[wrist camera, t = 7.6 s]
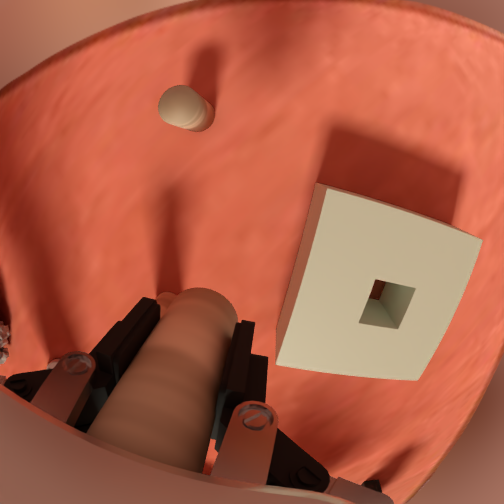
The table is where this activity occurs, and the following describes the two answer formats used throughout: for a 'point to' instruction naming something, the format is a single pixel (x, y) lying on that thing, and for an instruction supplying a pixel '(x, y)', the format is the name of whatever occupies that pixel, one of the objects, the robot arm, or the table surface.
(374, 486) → the ceramic cat
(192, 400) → the dowel 9cm
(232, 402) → the robot arm
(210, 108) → the dowel 6cm
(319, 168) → the table surface
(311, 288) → the square hole block
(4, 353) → the educational model
